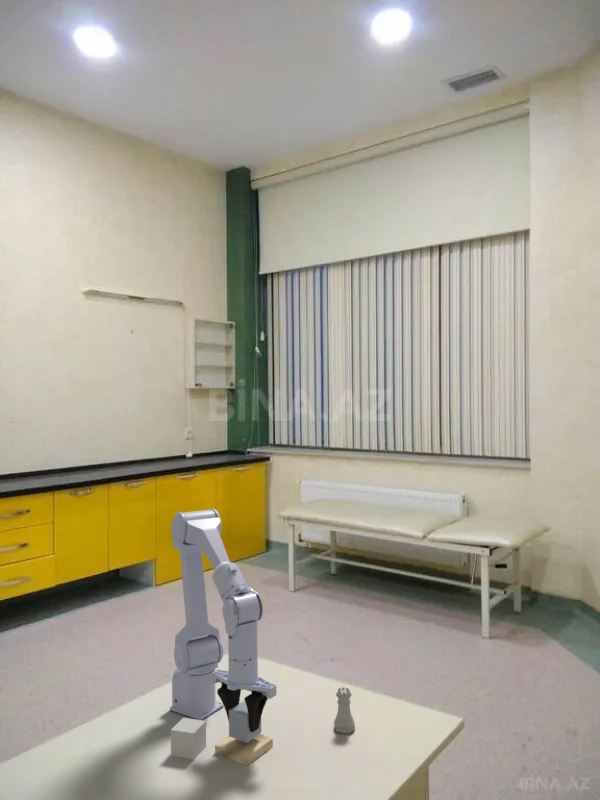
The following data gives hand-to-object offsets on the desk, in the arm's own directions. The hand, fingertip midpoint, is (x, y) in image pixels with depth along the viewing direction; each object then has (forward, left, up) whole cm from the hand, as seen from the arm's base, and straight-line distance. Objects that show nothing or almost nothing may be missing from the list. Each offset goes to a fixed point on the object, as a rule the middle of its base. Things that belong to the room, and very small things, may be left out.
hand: (243, 726), depth 118 cm
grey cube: (-9, -6, -4) cm, 12 cm away
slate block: (0, 0, -2) cm, 2 cm away
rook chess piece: (+13, +17, -5) cm, 22 cm away
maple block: (0, 0, -5) cm, 5 cm away
